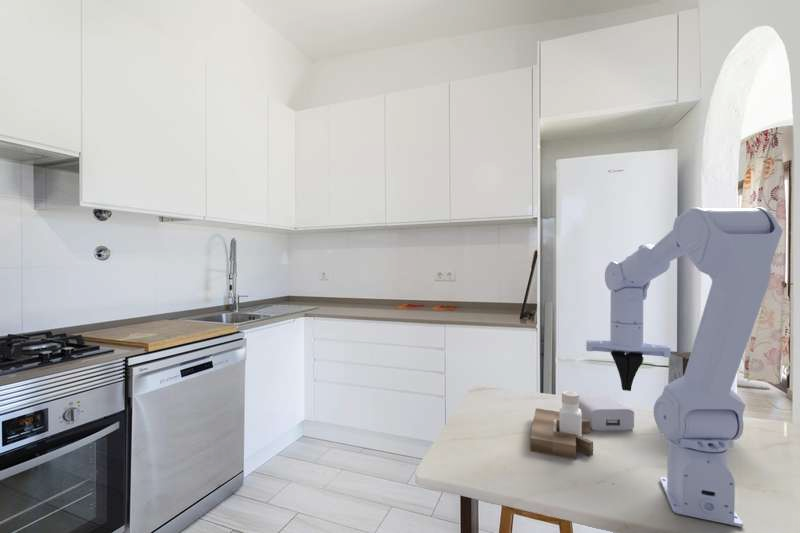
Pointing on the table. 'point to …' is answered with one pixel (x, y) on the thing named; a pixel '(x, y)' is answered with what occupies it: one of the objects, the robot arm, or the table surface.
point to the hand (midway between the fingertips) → (626, 389)
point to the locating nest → (557, 436)
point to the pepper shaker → (570, 414)
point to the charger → (605, 413)
